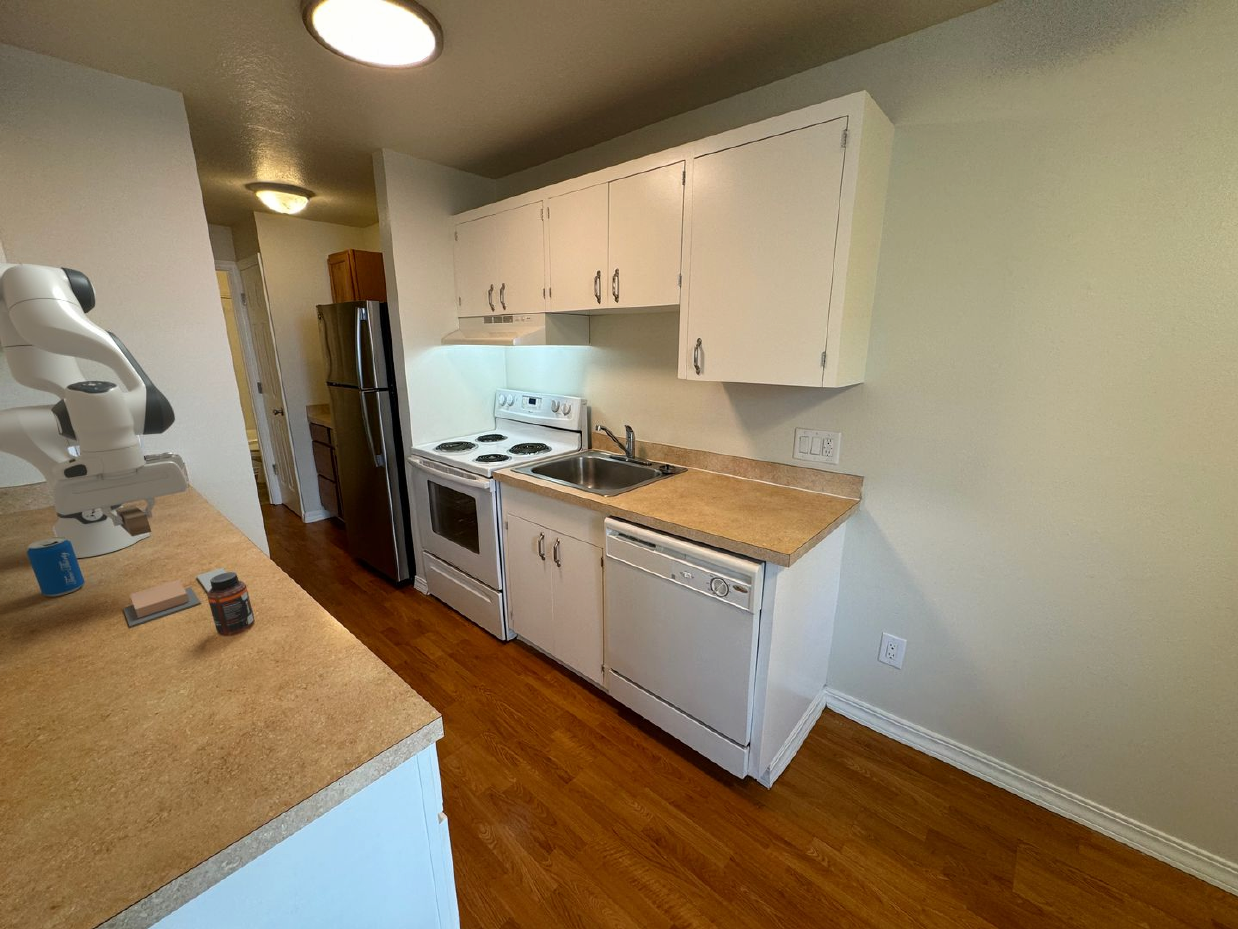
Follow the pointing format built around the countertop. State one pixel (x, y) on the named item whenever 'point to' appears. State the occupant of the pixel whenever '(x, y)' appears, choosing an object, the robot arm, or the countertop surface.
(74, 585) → the beverage can
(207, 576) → the pad
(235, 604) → the supplement bottle
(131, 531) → the tall taupe beveled block
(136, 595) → the tile
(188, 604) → the mat
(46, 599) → the countertop surface
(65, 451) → the robot arm
